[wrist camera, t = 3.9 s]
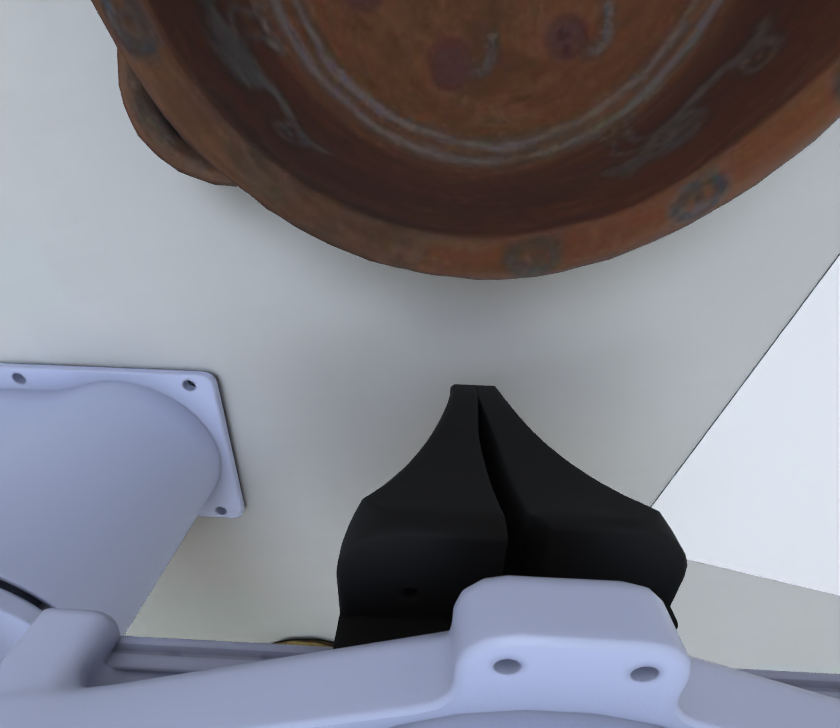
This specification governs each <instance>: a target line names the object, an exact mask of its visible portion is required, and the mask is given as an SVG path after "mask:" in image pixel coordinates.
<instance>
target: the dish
mask: <svg viewBox="0 0 840 728" xmlns="http://www.w3.org/2000/svg"><path fill="white" fill-rule="evenodd" d="M91 1H92V3H93V5H94V7H95V8H96V10H97V12H98V14H99V16H100V17H101V19H102V21H103V23H104V24H105V26H106V28H107V30H108V32H109V33H110V35H111V37H112V39H113V41H114V42H115V44H116V46H117V58H118V78H119V87H120V91H121V96H122V100H123V104H124V106H125V109H126V111H127V113H128V116H129V118H130V120H131V123H132V125H133V126H134V128H135V130H136V132H137V134H138V136H139V137H140V138H141V139H142V140H143V142H144V143H145V144H146V145H147V146H148V147H149V148H150V149H151V150H152V151H153V152H154V153H155V154H156V155H157V156H158V157H160V158H161V159H162V160H164V161H165V162H166V163H168V164H169V165H171V166H172V167H173V168H175V169H176V170H177V171H179V172H181V173H184V174H186V175H189V176H192V177H195V178H197V179H200V180H203V181H206V182H208V183H211V184H214V185H225V186H238V187H240V188H241V189H243V190H244V191H245V192H247V193H248V194H250V195H251V196H252V197H253V198H255V199H256V200H257V201H258V202H259V203H261V204H262V205H263V206H264V207H265V208H266V209H268V210H269V211H271V212H273V213H275V214H277V215H278V216H280V217H281V218H283V219H284V220H286V221H287V222H289V223H291V224H292V225H294V226H295V227H297V228H299V229H300V230H302V231H304V232H306V233H308V234H310V235H312V236H314V237H316V238H318V239H320V240H322V241H324V242H326V243H328V244H330V245H332V246H334V247H337V248H339V249H342V250H344V251H347V252H349V253H352V254H354V255H357V256H360V257H362V258H364V259H367V260H369V261H373V262H377V263H381V264H385V265H389V266H393V267H397V268H403V269H408V270H411V271H415V272H419V273H425V274H430V275H438V276H451V277H459V278H467V279H476V280H501V279H517V278H528V277H537V276H543V275H548V274H553V273H559V272H563V271H566V270H570V269H574V268H577V267H581V266H585V265H589V264H593V263H597V262H601V261H605V260H609V259H611V258H614V257H616V256H619V255H621V254H624V253H626V252H629V251H631V250H634V249H636V248H639V247H641V246H643V245H646V244H648V243H651V242H653V241H656V240H658V239H660V238H662V237H664V236H666V235H668V234H671V233H673V232H675V231H677V230H679V229H681V228H683V227H686V226H687V225H689V224H691V223H693V222H694V221H696V220H698V219H700V218H701V217H703V216H705V215H706V214H708V213H710V212H712V211H713V210H715V209H717V208H719V207H720V206H722V205H724V204H726V203H728V202H729V201H731V200H733V199H734V198H736V197H737V196H739V195H741V194H742V193H744V192H745V191H747V190H748V189H750V188H752V187H753V186H755V185H756V184H758V183H759V182H760V181H762V180H763V179H764V178H766V177H767V176H768V175H770V174H771V173H772V172H774V171H775V170H776V169H778V168H779V167H780V166H782V165H783V164H785V163H786V162H787V161H789V160H790V159H791V158H793V157H794V156H795V155H797V154H798V153H799V152H801V151H802V150H803V149H805V148H806V147H807V146H808V145H810V144H811V143H812V142H814V141H815V140H816V139H817V138H818V137H819V136H820V135H821V134H822V133H823V132H824V131H826V130H827V129H828V128H829V127H830V126H831V125H832V124H833V123H834V122H835V121H836V120H837V119H838V118H839V117H840V0H91Z"/></svg>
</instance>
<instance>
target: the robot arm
mask: <svg viewBox="0 0 840 728" xmlns="http://www.w3.org/2000/svg"><path fill="white" fill-rule="evenodd" d="M187 380H189V381H192V382H193V383H194V384H195V386H192V385H190V384H189V383H188V381H187ZM222 507H223V508H222ZM244 507H245V506H244V502H243V497H242V492H241V488H240V483H239V479H238V474H237V470H236V465H235V461H234V456H233V452H232V447H231V442H230V438H229V433H228V429H227V424H226V420H225V415H224V411H223V406H222V402H221V397H220V393H219V388H218V383H217V381H216V378H215V377H214V376H213V375H212V374H210V373H208V372H204V371H182V370H158V369H133V368H108V367H84V366H59V365H35V364H10V363H0V728H840V674H828V673H809V672H791V671H772V670H753V669H734V668H730V667H726V666H723V665H719V664H716V663H713V662H709V661H706V660H702V659H699V658H695V657H692V656H689V655H688V653H687V651H686V649H685V647H684V645H683V643H682V641H681V639H680V637H679V634H678V632H677V628H678V623H677V620H676V618H675V616H674V614H673V612H672V609H671V607H670V605H671V603H672V601H673V599H674V597H675V595H676V593H677V591H678V589H679V587H680V585H681V582H682V580H683V578H684V576H685V572H686V568H687V560H686V554H685V552H684V551H683V549H682V547H681V545H680V544H679V542H678V540H677V538H676V536H675V535H674V533H673V531H672V529H671V528H670V526H669V525H668V523H667V522H666V520H665V519H664V517H663V516H662V514H661V513H660V512H659V511H658V510H655V509H653V508H651V507H649V506H646V505H644V504H642V503H640V502H638V501H635V500H633V499H631V498H629V497H627V496H624V495H622V494H620V493H619V492H617V491H615V490H613V489H611V488H609V487H608V486H606V485H604V484H602V483H600V482H599V481H597V480H595V479H594V478H592V477H590V476H589V475H587V474H586V473H584V472H583V471H581V470H580V469H578V468H577V467H575V466H574V465H572V464H571V463H569V462H568V461H567V460H565V459H564V458H563V457H561V456H560V455H559V454H558V453H556V452H555V451H554V450H553V449H552V448H550V447H549V446H548V445H547V444H546V443H544V442H543V441H542V440H541V439H540V438H539V437H538V436H537V435H536V434H535V433H534V432H533V431H532V430H531V429H530V428H529V427H528V426H527V425H526V424H525V423H524V421H523V420H522V419H521V418H520V417H519V416H518V415H517V413H516V412H515V411H514V410H513V409H512V407H511V406H510V405H509V404H508V402H507V401H506V400H505V399H504V397H503V396H502V395H501V393H500V392H499V391H498V389H497V388H496V387H495V386H484V385H460V384H454V385H453V386H452V387H451V389H450V397H449V401H448V403H447V406H446V408H445V411H444V413H443V415H442V417H441V419H440V421H439V423H438V425H437V426H436V428H435V430H434V431H433V433H432V435H431V436H430V438H429V439H428V441H427V442H426V443H425V445H424V446H423V447H422V449H421V450H420V451H419V452H418V453H417V455H416V456H415V457H414V458H413V459H412V460H411V461H410V462H409V463H408V464H407V465H406V467H404V468H403V469H402V470H401V471H400V472H399V473H398V474H397V475H395V476H394V477H393V478H392V479H391V480H390V481H389V482H387V483H386V484H385V485H383V486H382V487H381V488H379V489H378V490H376V491H375V492H373V493H372V494H370V495H369V496H367V497H365V498H364V499H362V501H361V503H360V504H359V506H358V508H357V510H356V512H355V514H354V516H353V518H352V520H351V522H350V524H349V526H348V529H347V531H346V534H345V537H344V539H343V542H342V546H341V550H340V555H339V559H338V565H337V584H338V595H339V606H340V616H339V621H338V626H337V631H336V636H335V641H334V646H333V647H322V646H303V645H285V644H266V643H247V642H228V641H210V640H191V639H172V638H153V637H135V636H124V635H125V633H126V632H127V630H128V628H129V627H130V625H131V624H132V622H133V620H134V619H135V617H136V615H137V614H138V612H139V610H140V609H141V607H142V606H143V604H144V602H145V601H146V599H147V597H148V596H149V594H150V593H151V591H152V589H153V588H154V586H155V584H156V583H157V581H158V579H159V578H160V576H161V575H162V573H163V571H164V570H165V568H166V566H167V565H168V563H169V562H170V560H171V558H172V557H173V555H174V553H175V552H176V550H177V548H178V547H179V545H180V544H181V542H182V540H183V539H184V537H185V535H186V534H187V532H188V531H189V529H190V527H191V526H192V524H193V522H194V521H195V519H196V517H197V516H201V517H222V518H237V517H240V516H241V514H242V513H243V511H244Z"/></svg>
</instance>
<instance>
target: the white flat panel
mask: <svg viewBox="0 0 840 728" xmlns="http://www.w3.org/2000/svg"><path fill="white" fill-rule="evenodd" d="M651 508H653V509H655V510H658V511H659V512H660V513H661V514H662V516H663V517H664V519H665V520H666V522H667V523H668V525H669V526H670V528H671V529H672V531H673V533H674V535H675V536H676V538H677V540H678V542H679V544H680V545H681V547H682V549H683V551H684V552H685V554H686V559H688V560H692V561H696V562H701V563H705V564H709V565H713V566H717V567H722V568H726V569H730V570H734V571H738V572H743V573H747V574H751V575H755V576H759V577H764V578H768V579H772V580H776V581H781V582H785V583H789V584H793V585H797V586H802V587H806V588H810V589H814V590H818V591H823V592H827V593H831V594H835V595H839V596H840V255H839V257H838V258H837V259H836V261H835V262H834V263H833V265H832V266H831V268H830V269H829V270H828V272H827V273H826V274H825V276H824V277H823V278H822V280H821V281H820V282H819V284H818V285H817V286H816V288H815V289H814V290H813V292H812V293H811V294H810V296H809V297H808V298H807V300H806V301H805V302H804V304H803V305H802V306H801V308H800V309H799V310H798V312H797V313H796V314H795V316H794V317H793V318H792V320H791V321H790V322H789V324H788V325H787V326H786V328H785V329H784V330H783V332H782V333H781V334H780V336H779V337H778V338H777V340H776V341H775V342H774V344H773V345H772V347H771V348H770V349H769V351H768V352H767V353H766V355H765V356H764V357H763V359H762V360H761V361H760V363H759V364H758V365H757V367H756V368H755V369H754V371H753V372H752V373H751V375H750V376H749V377H748V379H747V380H746V381H745V383H744V384H743V385H742V387H741V388H740V389H739V391H738V392H737V393H736V395H735V396H734V397H733V399H732V400H731V401H730V403H729V404H728V405H727V407H726V408H725V409H724V411H723V412H722V413H721V415H720V416H719V417H718V419H717V420H716V421H715V423H714V424H713V426H712V427H711V428H710V430H709V431H708V432H707V434H706V435H705V436H704V438H703V439H702V440H701V442H700V443H699V444H698V446H697V447H696V448H695V450H694V451H693V452H692V454H691V455H690V456H689V458H688V459H687V460H686V462H685V463H684V464H683V466H682V467H681V468H680V470H679V471H678V472H677V474H676V475H675V476H674V478H673V479H672V480H671V482H670V483H669V484H668V486H667V487H666V488H665V490H664V491H663V492H662V494H661V495H660V496H659V498H658V499H657V500H656V502H655V503H654V505H653V506H652V507H651Z"/></svg>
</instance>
